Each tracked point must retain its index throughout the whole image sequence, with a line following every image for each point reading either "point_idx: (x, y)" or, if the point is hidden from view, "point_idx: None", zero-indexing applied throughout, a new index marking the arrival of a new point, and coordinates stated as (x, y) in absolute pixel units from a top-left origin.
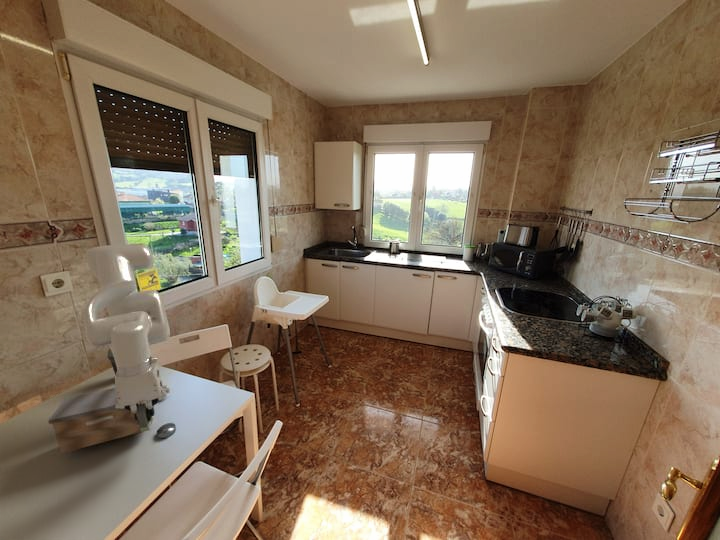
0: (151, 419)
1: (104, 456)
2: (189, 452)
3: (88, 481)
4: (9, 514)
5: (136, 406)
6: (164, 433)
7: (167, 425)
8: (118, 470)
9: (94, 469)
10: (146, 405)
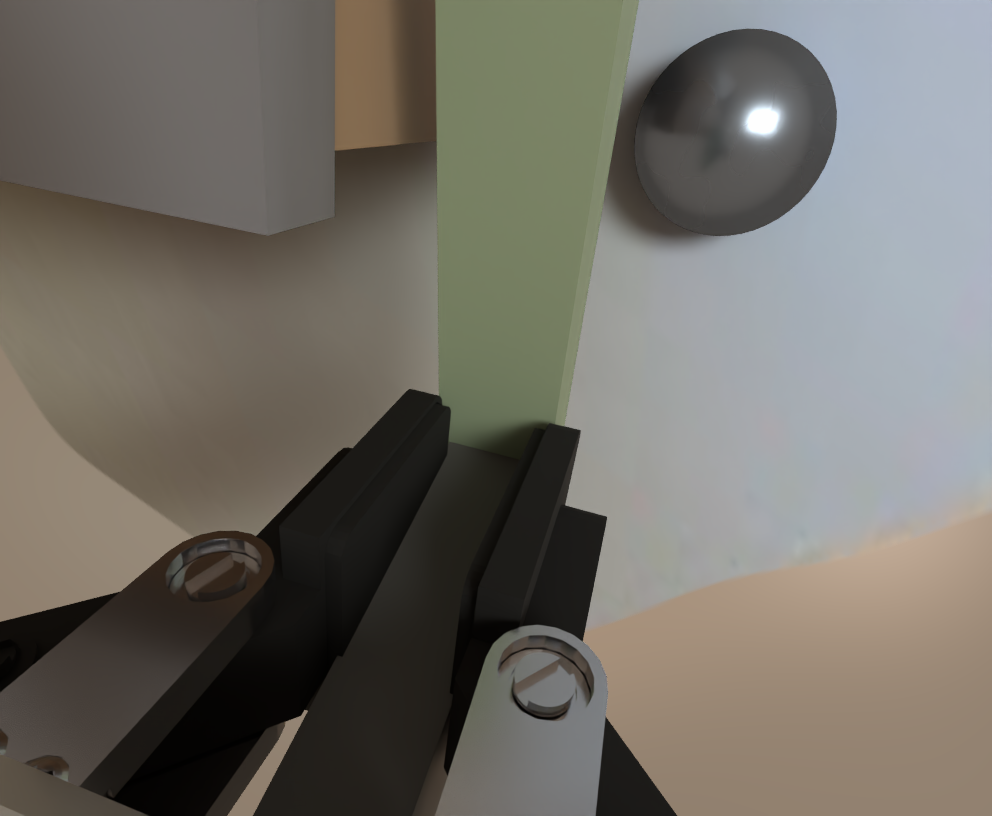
0: (567, 404)
1: None
2: (846, 524)
3: (249, 350)
4: (2, 338)
5: (223, 707)
6: (702, 209)
7: (753, 73)
8: (388, 370)
9: (246, 262)
10: (461, 177)
